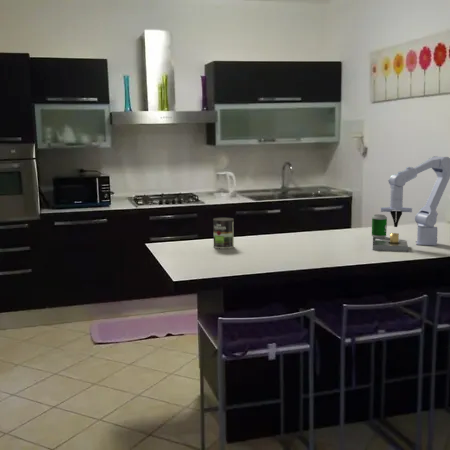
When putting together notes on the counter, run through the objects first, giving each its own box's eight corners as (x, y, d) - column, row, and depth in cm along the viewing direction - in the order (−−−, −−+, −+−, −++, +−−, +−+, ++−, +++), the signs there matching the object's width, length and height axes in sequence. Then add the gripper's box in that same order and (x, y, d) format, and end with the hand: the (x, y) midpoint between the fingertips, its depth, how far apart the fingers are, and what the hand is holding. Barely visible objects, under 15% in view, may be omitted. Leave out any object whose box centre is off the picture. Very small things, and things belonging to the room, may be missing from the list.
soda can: (382, 239, 294) (383, 216, 292) (369, 237, 298) (369, 215, 296) (388, 237, 300) (389, 214, 298) (374, 235, 304) (375, 213, 302)
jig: (406, 246, 276) (406, 238, 275) (407, 251, 264) (408, 243, 264) (372, 245, 280) (372, 237, 279) (372, 250, 268) (372, 241, 268)
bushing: (398, 247, 274) (398, 233, 273) (398, 248, 270) (398, 234, 269) (389, 246, 275) (390, 232, 274) (389, 248, 271) (390, 234, 270)
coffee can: (228, 249, 274) (227, 221, 272) (209, 247, 279) (209, 219, 277) (237, 245, 283) (237, 218, 281) (219, 244, 288) (219, 216, 286)
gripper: (381, 199, 270) (380, 227, 273) (412, 200, 267) (411, 228, 269) (380, 198, 277) (380, 225, 279) (411, 198, 274) (410, 225, 276)
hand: (395, 226), depth 275 cm, fingers closed
